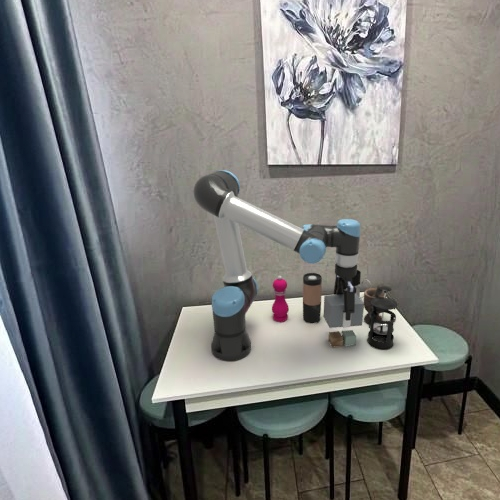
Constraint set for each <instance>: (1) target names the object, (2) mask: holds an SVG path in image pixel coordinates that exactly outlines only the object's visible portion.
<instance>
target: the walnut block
mask: <svg viewBox="0 0 500 500" xmlns="http://www.w3.org/2000/svg"><path fill="white" fill-rule="evenodd" d="M328 342H329V344H330V346H331V348H336V347H343V337H342V332H340V331H329V332H328Z"/></svg>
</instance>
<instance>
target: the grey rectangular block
mask: <svg viewBox="0 0 500 500" xmlns="http://www.w3.org/2000/svg"><path fill="white" fill-rule="evenodd" d="M360 298H361V297H358V295H357V294H356V293H355V312H354V313H351V325H350V327H360V326H361V327H362V326H363V321H364V309H365V307H364V301H363V300H362V298H361V299H360ZM343 311H345V309H344V296H343V294H340V295H334V294H328V295H324V297H323V316H322V317H323V318H324V320H325V322H326V324H327V326H328V328H330V329H337V328H343V327H342V324H343Z"/></svg>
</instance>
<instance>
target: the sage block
mask: <svg viewBox="0 0 500 500" xmlns="http://www.w3.org/2000/svg"><path fill="white" fill-rule="evenodd" d="M341 335H342V337H343V341H342V344H344V346H345V347H347V346H356V344H357V335H356V333H355V331H354V330H353V329H348V330H342V332H341Z"/></svg>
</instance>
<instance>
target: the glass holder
mask: <svg viewBox="0 0 500 500" xmlns="http://www.w3.org/2000/svg"><path fill="white" fill-rule="evenodd" d="M361 275H362V273H361V271H360V270H358V269H357V274H356V276H354V277H353V278H352V286H355V287H356V288H355V293H356V294H357V295H358V297H359V298H360V299H361V300H362V299H364V295H363V296H361V295H360V294H361V287H363V286H364V285H363V284H364V281H367V283H369V288H368V289H371V288H372V282H371V281H370V280H369V279H367V278H364V279H363V280H361ZM360 296H361V297H360Z"/></svg>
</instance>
